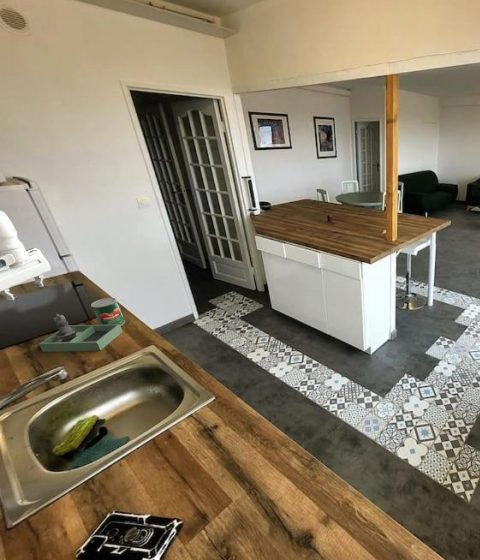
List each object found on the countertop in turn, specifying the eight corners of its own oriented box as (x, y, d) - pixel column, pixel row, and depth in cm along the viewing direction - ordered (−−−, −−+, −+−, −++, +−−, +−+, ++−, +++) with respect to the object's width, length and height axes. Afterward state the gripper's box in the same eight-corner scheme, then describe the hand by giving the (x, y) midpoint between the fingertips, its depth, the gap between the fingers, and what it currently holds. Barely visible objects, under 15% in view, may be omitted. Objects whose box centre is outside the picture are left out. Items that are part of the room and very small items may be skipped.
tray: (100, 350, 116) (96, 342, 115) (43, 352, 115) (38, 343, 113) (122, 331, 127) (119, 324, 125) (70, 333, 125) (66, 325, 124)
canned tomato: (114, 318, 136) (104, 296, 131) (130, 320, 135) (121, 298, 130) (96, 328, 128) (85, 306, 124) (112, 330, 128) (102, 307, 123)
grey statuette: (80, 333, 124) (67, 307, 119) (81, 340, 120) (67, 313, 115) (59, 339, 120) (45, 313, 115) (59, 346, 116) (45, 319, 111)
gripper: (28, 246, 112) (45, 281, 117) (-39, 267, 93) (-16, 307, 99) (47, 246, 112) (62, 280, 118) (-16, 267, 94) (6, 307, 99)
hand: (26, 293), depth 108 cm, fingers open, 8 cm apart
